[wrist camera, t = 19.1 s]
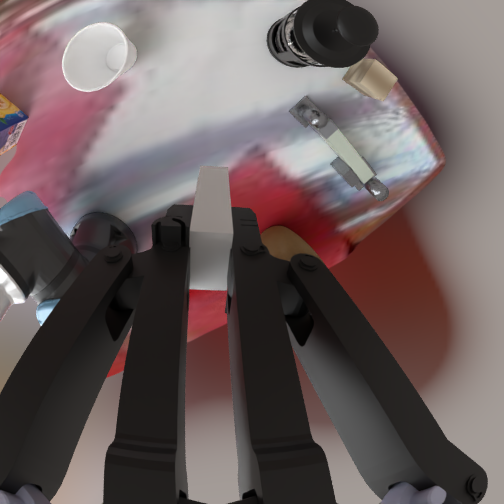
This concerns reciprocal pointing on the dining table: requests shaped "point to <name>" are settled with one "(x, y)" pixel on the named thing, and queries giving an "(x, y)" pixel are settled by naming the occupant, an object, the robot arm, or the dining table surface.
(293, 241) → the plant pot
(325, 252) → the dining table surface
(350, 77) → the block
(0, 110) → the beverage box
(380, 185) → the metal knob post
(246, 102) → the dining table surface
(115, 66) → the cup
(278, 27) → the french press
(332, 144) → the gate
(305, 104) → the post
